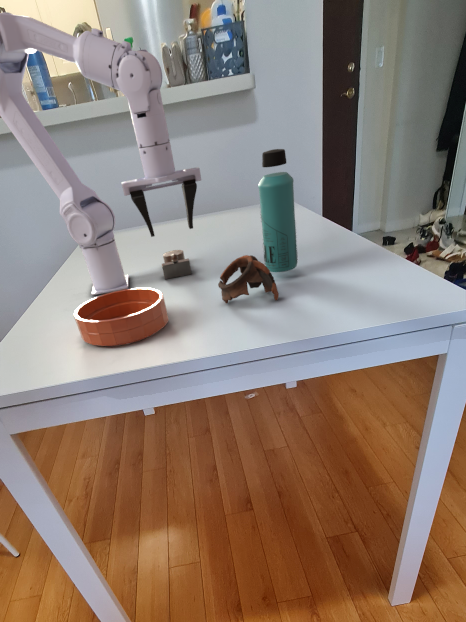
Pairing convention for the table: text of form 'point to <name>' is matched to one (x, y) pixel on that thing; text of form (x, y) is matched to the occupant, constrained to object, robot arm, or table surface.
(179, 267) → the grey rectangular block
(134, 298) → the bowl
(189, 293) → the table surface
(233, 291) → the broken clay pot
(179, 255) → the ladle
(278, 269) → the beverage bottle
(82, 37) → the robot arm
